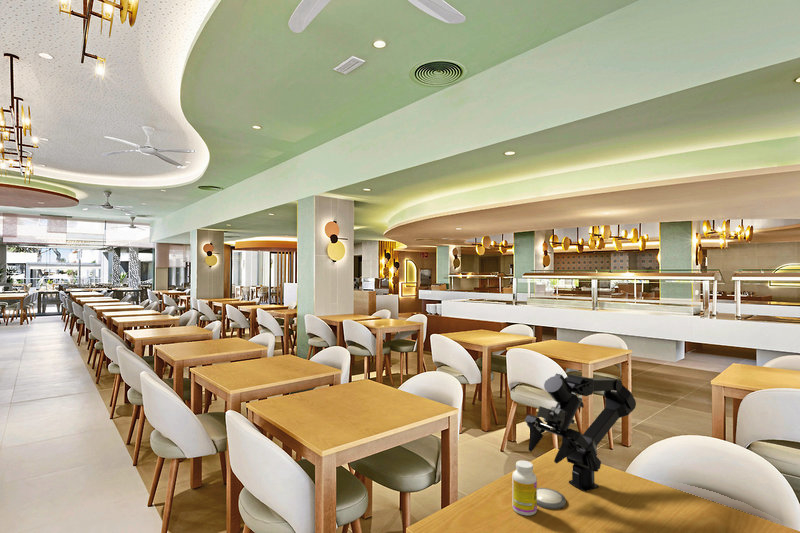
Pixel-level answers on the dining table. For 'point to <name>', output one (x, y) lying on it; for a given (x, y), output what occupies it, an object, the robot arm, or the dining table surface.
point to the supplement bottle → (524, 489)
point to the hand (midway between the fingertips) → (542, 456)
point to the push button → (550, 498)
